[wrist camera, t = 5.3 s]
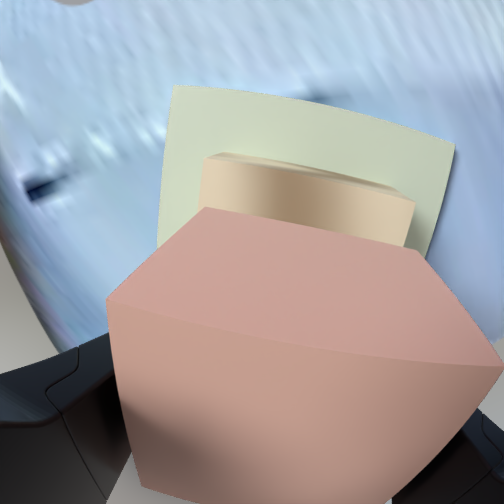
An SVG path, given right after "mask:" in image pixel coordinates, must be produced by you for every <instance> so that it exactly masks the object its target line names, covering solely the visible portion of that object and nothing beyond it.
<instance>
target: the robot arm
mask: <svg viewBox="0 0 504 504" xmlns="http://www.w3.org/2000/svg"><path fill="white" fill-rule="evenodd" d="M131 452H132V451H131V447H130V443H129V439H128V435H127V431H126V426H125V422H124V418H123V413H122V408H121V403H120V398H119V393H118V388H117V382H116V376H115V370H114V364H113V358H112V351H111V343H110V336H109V332H108V333H106V334H104V335H102V336H99V337H97V338H95V339H93V340H90V341H88V342H86V343H84V344H81V345H79V348H78V347H74V348H72V349H70V350H68V351H65V352H63V353H60V354H58V355H56V356H53V357H51V358H48V359H45V360H42V361H39V362H37V363H34V364H31V365H28V366H24V367H21V368H18V369H15V370H12V371H8V372H5V373H2V374H0V504H106V502H107V501H106V500H108V498H109V496H110V494H111V492H112V490H113V488H114V486H115V484H116V482H117V480H118V478H119V476H120V474H121V472H122V470H123V468H124V466H125V464H126V462H127V460H128V458H129V456H130V454H131ZM392 504H504V431H503V430H501V429H500V428H499V427H498V426H497V425H496V424H495V423H493V422H492V421H491V420H490V419H489V418H488V417H487V416H486V415H485V414H482V412H481V411H480V410H479V409H478V408H476V410H475V411H474V412H473V414H472V415H471V416H470V417H469V419H468V420H467V421H466V422H465V424H464V425H463V426H462V427H461V428H460V430H459V431H458V432H457V433H456V434H455V435H454V437H453V438H452V439H451V440H450V441H449V442H448V443H447V445H446V446H445V447H444V448H443V449H442V450H441V451H440V452H439V453H438V454H437V455H436V456H435V457H434V458H433V459H432V460H431V462H430V463H429V464H428V465H427V466H426V467H425V468H424V469H423V470H421V471H420V472H419V473H418V474H417V475H416V476H415V477H414V478H413V479H412V480H411V481H410V482H409V483H408V484H407V485H405V486H404V487H403V488H402V489H401V490H400V491H399V492H398V493H396V494H395V495H394V496H393V497H392Z"/></svg>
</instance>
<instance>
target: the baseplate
mask: <svg viewBox="0 0 504 504" xmlns="http://www.w3.org/2000/svg"><path fill="white" fill-rule="evenodd" d="M455 145H456V144H453V143H450V142H448V141H445V140H443V139H440V138H437V137H434V136H432V135H429V134H426V133H423V132H420V131H417V130H414V129H411V128H408V127H405V126H402V125H399V124H396V123H392V122H389V121H386V120H382V119H379V118H375V117H372V116H368V115H364V114H361V113H357V112H353V111H349V110H345V109H341V108H336V107H332V106H328V105H323V104H319V103H314V102H309V101H304V100H298V99H293V98H287V97H282V96H276V95H269V94H263V93H256V92H248V91H240V90H232V89H222V88H212V87H200V86H185V85H173V91H172V98H171V104H170V111H169V118H168V126H167V134H166V142H165V151H164V160H163V170H162V180H161V192H160V205H159V219H158V236H157V249H158V248H159V247H160V246H161V245H163V244H164V243H165V242H166V241H167V240H168V239H169V238H170V237H171V236H172V235H173V234H175V233H176V232H177V231H178V230H179V229H180V228H181V227H182V226H183V225H185V224H186V223H187V222H188V221H189V220H190V219H191V218H192V217H194V216H195V215H196V214H197V210H198V201H199V193H200V184H201V176H202V168H203V161H204V158H205V157H209V156H212V155H215V154H218V153H222V152H230V153H237V154H243V155H249V156H255V157H261V158H267V159H272V160H278V161H283V162H288V163H293V164H298V165H303V166H308V167H313V168H318V169H322V170H327V171H331V172H336V173H340V174H344V175H349V176H353V177H357V178H361V179H365V180H369V181H373V182H377V183H381V184H384V185H388V186H391V187H393V188H394V189H396V190H398V191H399V192H401V193H402V194H404V195H405V196H407V197H408V198H410V199H411V200H413V201H415V202H416V205H415V209H414V212H413V216H412V219H411V223H410V226H409V230H408V233H407V236H406V239H405V243H404V246H403V247H405V248H409V249H413V250H417V251H418V252H419V253H420V254H421V256H422V257H423V258H424V259H425V256H426V253H427V250H428V247H429V244H430V241H431V238H432V235H433V232H434V228H435V225H436V222H437V218H438V215H439V212H440V208H441V204H442V201H443V197H444V193H445V189H446V185H447V181H448V177H449V173H450V168H451V164H452V159H453V155H454V150H455Z"/></svg>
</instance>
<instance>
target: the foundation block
mask: <svg viewBox="0 0 504 504" xmlns="http://www.w3.org/2000/svg"><path fill="white" fill-rule="evenodd" d="M415 205H416V202H415V201H413V200H411V199H410V198H408V197H407V196H405V195H404V194H402V193H401V192H399V191H398V190H396V189H394V188H393V187H391V186H388V185H384V184H381V183H377V182H373V181H369V180H365V179H361V178H357V177H353V176H349V175H344V174H340V173H336V172H331V171H327V170H322V169H318V168H313V167H308V166H303V165H298V164H293V163H288V162H283V161H278V160H272V159H267V158H261V157H255V156H249V155H243V154H237V153H230V152H222V153H218V154H215V155H212V156H209V157H205V158H204V161H203V168H202V176H201V184H200V193H199V201H198V210H197V213H198V212H199V211H200V210H201V209H203V208H204V207H210V208H215V209H221V210H226V211H232V212H237V213H243V214H248V215H253V216H259V217H264V218H269V219H274V220H279V221H284V222H289V223H294V224H299V225H304V226H309V227H314V228H319V229H324V230H328V231H333V232H338V233H342V234H347V235H352V236H356V237H361V238H365V239H370V240H374V241H379V242H383V243H388V244H392V245H396V246H401V247H403V246H404V243H405V239H406V236H407V233H408V230H409V226H410V223H411V219H412V216H413V212H414V209H415Z"/></svg>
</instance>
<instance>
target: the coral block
mask: <svg viewBox="0 0 504 504" xmlns="http://www.w3.org/2000/svg"><path fill="white" fill-rule="evenodd" d="M106 308H107V318H108V327H109V336H110V343H111V351H112V358H113V364H114V370H115V376H116V382H117V388H118V393H119V398H120V403H121V408H122V413H123V418H124V422H125V426H126V431H127V435H128V439H129V443H130V447H131V451H132V454H133V458H134V462H135V465H136V469H137V472H138V476H139V479H140V482H141V485H142V486H143V487H145V488H148V489H151V490H154V491H157V492H160V493H163V494H167V495H170V496H174V497H177V498H180V499H184V500H188V501H191V502H195V503H200V504H385V503H386V502H387V501H388V500H389V499H391V498H392V497H393V496H394V495H395V494H396V493H398V492H399V491H400V490H401V489H402V488H403V487H404V486H405V485H407V484H408V483H409V482H410V481H411V480H412V479H413V478H414V477H415V476H416V475H417V474H418V473H419V472H420V471H421V470H423V469H424V468H425V467H426V466H427V465H428V464H429V463H430V462H431V460H432V459H433V458H434V457H435V456H436V455H437V454H438V453H439V452H440V451H441V450H442V449H443V448H444V447H445V446H446V445H447V443H448V442H449V441H450V440H451V439H452V438H453V437H454V435H455V434H456V433H457V432H458V431H459V430H460V428H461V427H462V426H463V425H464V424H465V422H466V421H467V420H468V419H469V417H470V416H471V415H472V414H473V412H474V411H475V410H476V408H477V407H478V406H479V404H480V403H481V402H482V400H483V399H484V398H485V396H486V395H487V394H488V392H489V391H490V389H491V388H492V386H493V385H494V384H495V382H496V381H497V379H498V378H499V376H500V374H501V373H502V372H503V370H504V363H503V362H502V360H501V359H500V357H499V356H498V354H497V353H496V351H495V350H494V348H493V347H492V345H491V344H490V342H489V341H488V339H487V338H486V337H485V335H484V334H483V332H482V331H481V330H480V328H479V327H478V325H477V324H476V323H475V321H474V320H473V319H472V317H471V316H470V315H469V313H468V312H467V311H466V309H465V308H464V307H463V305H462V304H461V303H460V302H459V300H458V299H457V298H456V296H455V295H454V294H453V293H452V291H451V290H450V289H449V288H448V286H447V285H446V284H445V283H444V282H443V280H442V279H441V278H440V277H439V275H438V274H437V273H436V272H435V271H434V270H433V268H432V267H431V266H430V265H429V264H428V262H427V261H426V260H425V259H424V258H423V257H422V256H421V254H420V253H419V252H418V251H417V250H413V249H409V248H405V247H401V246H396V245H392V244H388V243H383V242H379V241H374V240H370V239H365V238H361V237H356V236H352V235H347V234H342V233H338V232H333V231H328V230H324V229H319V228H314V227H309V226H304V225H299V224H294V223H289V222H284V221H279V220H274V219H269V218H264V217H259V216H253V215H248V214H243V213H237V212H232V211H226V210H221V209H215V208H210V207H204V208H203V209H201V210H200V211H199V212H198V213H197V214H196V215H195V216H194V217H192V218H191V219H190V220H189V221H188V222H187V223H186V224H185V225H183V226H182V227H181V228H180V229H179V230H178V231H177V232H176V233H175V234H173V235H172V236H171V237H170V238H169V239H168V240H167V241H166V242H165V243H164V244H163V245H161V246H160V247H159V248H158V249H157V250H156V251H155V252H154V253H153V254H152V255H151V256H150V257H149V258H148V259H146V260H145V261H144V262H143V263H142V264H141V265H140V266H139V267H138V268H137V269H136V270H135V271H134V272H133V273H132V274H131V275H130V276H129V277H128V278H127V279H126V280H125V281H123V282H122V283H121V284H120V285H119V286H118V287H117V288H116V289H115V290H114V291H113V292H112V293H111V294H110V295H109V296H108V297H107V298H106Z"/></svg>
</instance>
